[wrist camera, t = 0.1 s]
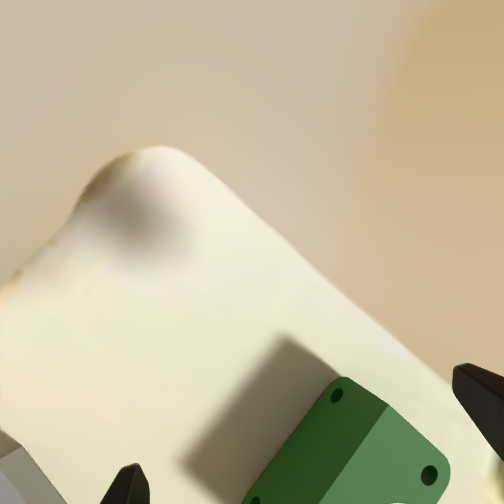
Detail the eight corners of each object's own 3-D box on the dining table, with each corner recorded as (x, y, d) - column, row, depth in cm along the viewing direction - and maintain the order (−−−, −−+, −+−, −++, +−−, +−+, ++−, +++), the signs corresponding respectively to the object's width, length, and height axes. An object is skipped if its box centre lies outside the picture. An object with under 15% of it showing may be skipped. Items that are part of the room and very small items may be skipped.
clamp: (299, 498, 26) (314, 669, 17) (243, 453, 25) (230, 609, 16) (422, 409, 23) (514, 557, 15) (364, 355, 22) (426, 479, 14)
